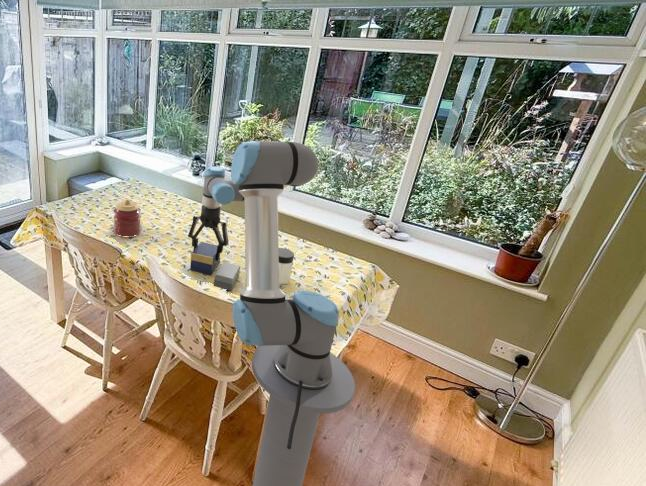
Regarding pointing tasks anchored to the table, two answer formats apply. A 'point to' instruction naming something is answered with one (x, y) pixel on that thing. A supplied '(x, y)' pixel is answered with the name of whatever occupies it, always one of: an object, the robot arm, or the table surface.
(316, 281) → the table surface
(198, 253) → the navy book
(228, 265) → the grey stack
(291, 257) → the jar
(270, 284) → the robot arm
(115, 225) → the kitchen canister
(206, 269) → the navy stack
